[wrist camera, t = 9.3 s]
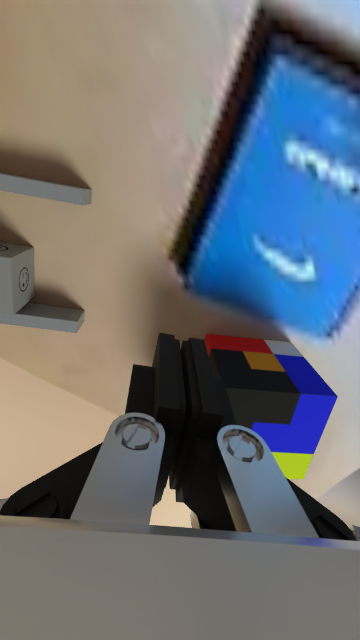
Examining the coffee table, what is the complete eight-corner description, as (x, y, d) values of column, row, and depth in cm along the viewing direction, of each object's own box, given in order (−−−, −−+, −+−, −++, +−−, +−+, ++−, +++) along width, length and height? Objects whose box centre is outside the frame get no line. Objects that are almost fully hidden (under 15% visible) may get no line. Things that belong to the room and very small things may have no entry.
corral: (-66, 159, 26) (-93, 156, 23) (91, 189, 27) (84, 189, 24) (-49, 303, 31) (-69, 314, 28) (83, 320, 32) (76, 332, 29)
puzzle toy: (290, 341, 35) (337, 396, 26) (269, 410, 39) (303, 479, 30) (206, 333, 34) (223, 387, 25) (192, 405, 38) (203, 475, 29)
